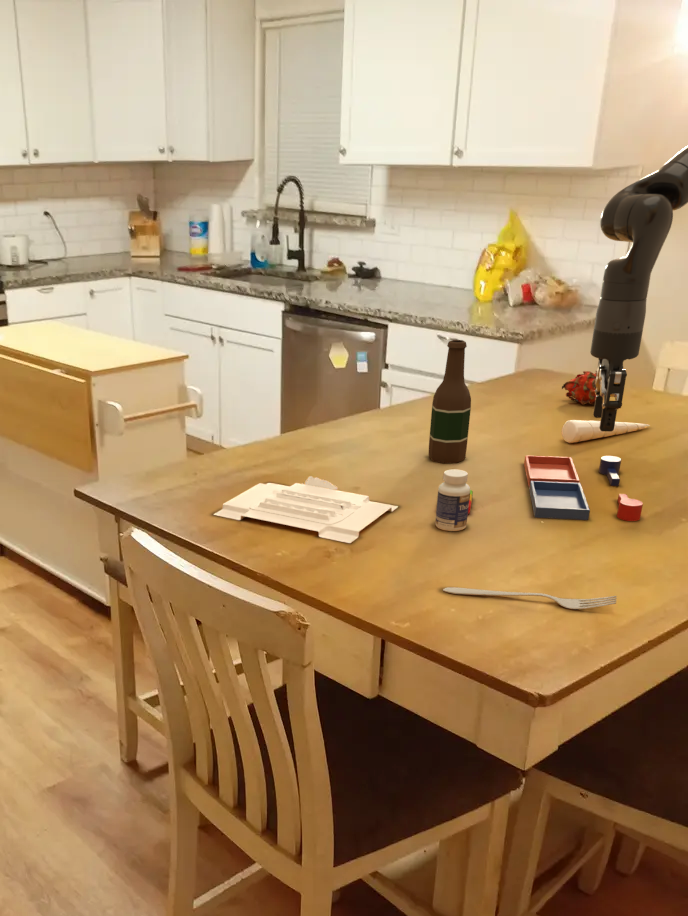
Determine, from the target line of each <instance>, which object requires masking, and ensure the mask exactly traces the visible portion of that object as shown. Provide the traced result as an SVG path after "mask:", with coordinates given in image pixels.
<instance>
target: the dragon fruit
mask: <svg viewBox="0 0 688 916" xmlns="http://www.w3.org/2000/svg"><path fill="white" fill-rule="evenodd" d="M582 372H583V373H579V374H577V375H576V376H575V378H572V379H570V380H567V381H566V382H564V383H563V385H562V386H561V390H563V389H564V390H565V391H567V392H565V397H567V398H568V399H569V400H570V401H575V402H576V403H580V404H581V405H582V406H584V405H585V404H588V403H590V404H591V405H595V399H596V396H598V395H595V390H596V389H595V388H594V384H595V380H596V374H597V370H595V372H594V373H593V372H592V371H589V370H583V371H582Z"/></svg>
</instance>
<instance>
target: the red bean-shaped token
mask: <svg viewBox="0 0 688 916" xmlns="http://www.w3.org/2000/svg"><path fill="white" fill-rule="evenodd" d="M617 503H618V509H617V514H616V517H617V518H618V519H619V520H622V521H627V522H636V521H639V520H640V519H641V515H642V510H643V507H644V502H643V501H642V500H639V499H635V498H629V496H628V494H627V493H618V496H617Z"/></svg>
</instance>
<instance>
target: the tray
mask: <svg viewBox="0 0 688 916" xmlns="http://www.w3.org/2000/svg"><path fill="white" fill-rule="evenodd" d="M398 507H399V506H398V505H392V504H388V503H383V502H376V501H371V500H370V496H369V495H366V494H360V493H355V492H354V493H353V492H349V491H344V490H338V486H337V485H336V484H333V483H332V482H330V481H328V480H326V479H323V478H319V477H315V476H312V475H309V476H308V477H307V479H306V478H305V482H302V483H299V482H295V483H293V484H292V485H286V484H285V485H283V484H278V483H273V482H267V483H262V482H259V483H257V484H255V485H254V486H251V487H250V488H249V489H247V490H245V491H243V492H242V493H241V492H240V494H238V495H236V496H234V497H233V498H231V499H229V500H227V501H225V502H224V503H222V508H221V509H220V510H218V511H216V512H215V513H213V514H212V515H213V516H218V517H223V518H227V519H232V520H236V521H241V520H243V519H244V518H251V519H256V520H261V521H266V522H269V523H270V522H271V523H275V524H280V525H284V526H285V525H286V526H290V527H294V528H299V529H305V530H308V531H309V530H310V531H314V532H318V537H319V538H322V539H327V540H332V541H338V542H342V543H346V544H351V543H352V542H354V541H355V540H357V539H358V538H359V537H360V532H361V531H362V530H363V529H365V528H366V527H368V525H370V524H372V522H374V521H375V520H377V519H378V518H379V517H380V516H382V515H383V514H385V513H386V512H394V511H395V510H396V509H398Z"/></svg>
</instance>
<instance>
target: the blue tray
mask: <svg viewBox="0 0 688 916" xmlns="http://www.w3.org/2000/svg"><path fill="white" fill-rule="evenodd" d="M528 491H529V496H530V501H531V504H532V511H533V516H534V518H538V519H540V518H541V519H561V520H580V521H589V518H590V512H591V509H590V507H589V504H588V501H587V498H586V495H585V492H584V489H583V487H582V483H581V482H579V483H569V482H546V481H530V488H529V489H528Z"/></svg>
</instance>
